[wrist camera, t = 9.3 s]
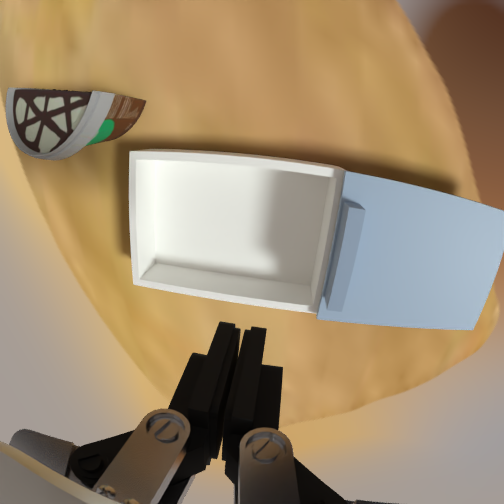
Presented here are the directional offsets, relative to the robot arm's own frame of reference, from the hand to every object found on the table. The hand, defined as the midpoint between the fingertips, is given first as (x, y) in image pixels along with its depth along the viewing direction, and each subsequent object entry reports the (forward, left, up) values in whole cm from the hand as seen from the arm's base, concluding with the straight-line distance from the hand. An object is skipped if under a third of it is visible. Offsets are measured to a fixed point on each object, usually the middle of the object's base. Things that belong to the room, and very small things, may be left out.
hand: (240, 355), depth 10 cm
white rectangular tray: (0, -3, -18) cm, 19 cm away
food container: (-9, -18, -19) cm, 28 cm away
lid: (0, +14, -14) cm, 19 cm away
